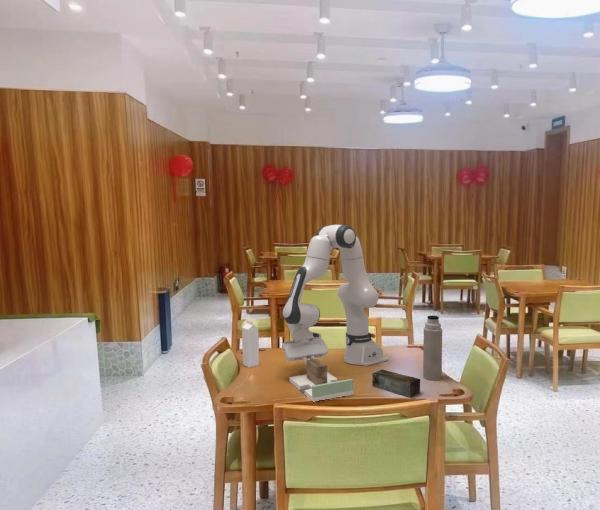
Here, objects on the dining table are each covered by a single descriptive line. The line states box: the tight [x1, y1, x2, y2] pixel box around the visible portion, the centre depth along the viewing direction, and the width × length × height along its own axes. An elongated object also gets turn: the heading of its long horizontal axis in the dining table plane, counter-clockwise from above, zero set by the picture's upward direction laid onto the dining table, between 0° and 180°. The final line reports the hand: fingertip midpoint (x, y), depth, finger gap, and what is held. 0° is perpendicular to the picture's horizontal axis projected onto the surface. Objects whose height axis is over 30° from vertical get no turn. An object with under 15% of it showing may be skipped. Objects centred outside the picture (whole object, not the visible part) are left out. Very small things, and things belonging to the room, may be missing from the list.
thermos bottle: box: [422, 315, 443, 382], centre depth 198 cm, size 8×8×28 cm
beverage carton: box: [371, 368, 421, 398], centre depth 186 cm, size 8×19×7 cm, turn 45°
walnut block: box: [306, 358, 328, 385], centre depth 191 cm, size 5×10×8 cm, turn 23°
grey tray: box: [289, 371, 354, 403], centre depth 188 cm, size 18×25×6 cm
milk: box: [241, 320, 260, 368], centre depth 219 cm, size 6×6×22 cm
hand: (311, 366), depth 196 cm, fingers closed
